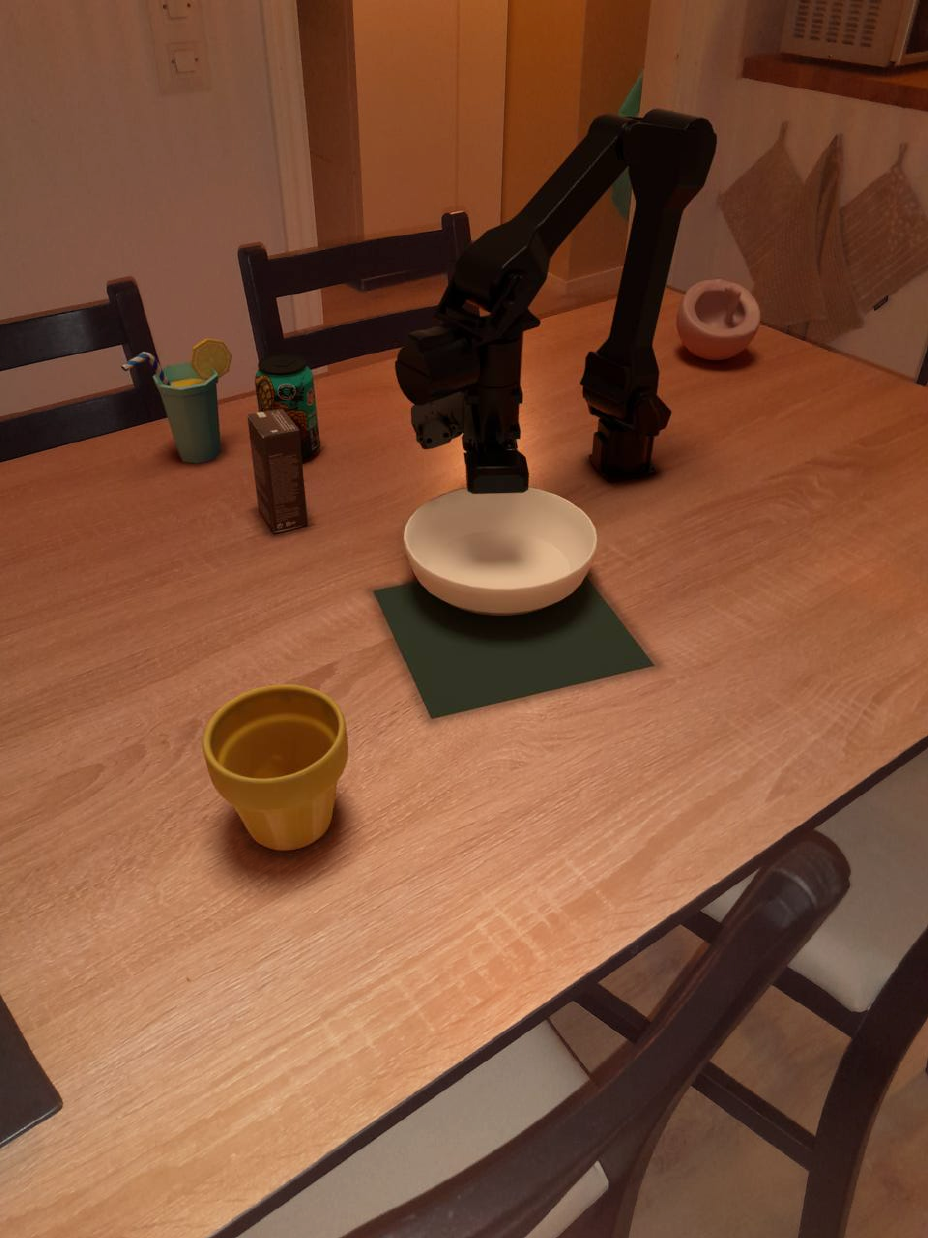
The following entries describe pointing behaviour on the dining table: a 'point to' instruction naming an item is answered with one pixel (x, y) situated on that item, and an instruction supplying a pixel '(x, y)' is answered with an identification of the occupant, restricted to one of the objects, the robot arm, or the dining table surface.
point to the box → (278, 469)
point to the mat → (505, 647)
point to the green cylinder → (290, 395)
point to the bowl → (500, 549)
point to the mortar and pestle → (717, 319)
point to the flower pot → (278, 761)
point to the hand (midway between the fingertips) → (489, 503)
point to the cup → (192, 398)
